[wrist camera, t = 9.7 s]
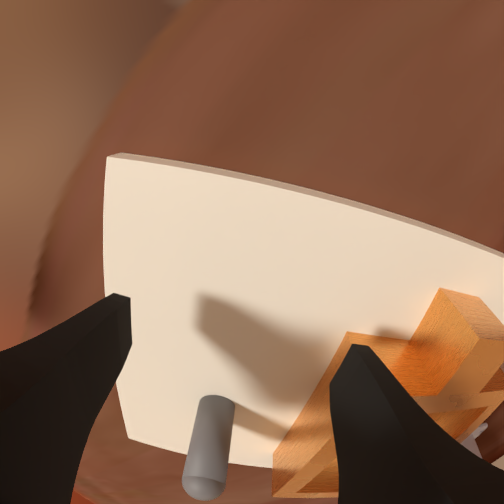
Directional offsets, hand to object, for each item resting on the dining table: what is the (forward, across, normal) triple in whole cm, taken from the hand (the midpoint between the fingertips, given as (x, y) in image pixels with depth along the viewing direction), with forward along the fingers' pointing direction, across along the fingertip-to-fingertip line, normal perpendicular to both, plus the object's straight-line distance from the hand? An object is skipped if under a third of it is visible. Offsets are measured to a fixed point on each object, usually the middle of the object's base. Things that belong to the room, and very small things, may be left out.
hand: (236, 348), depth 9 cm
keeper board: (+4, -5, +6) cm, 8 cm away
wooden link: (+3, -10, +7) cm, 12 cm away
